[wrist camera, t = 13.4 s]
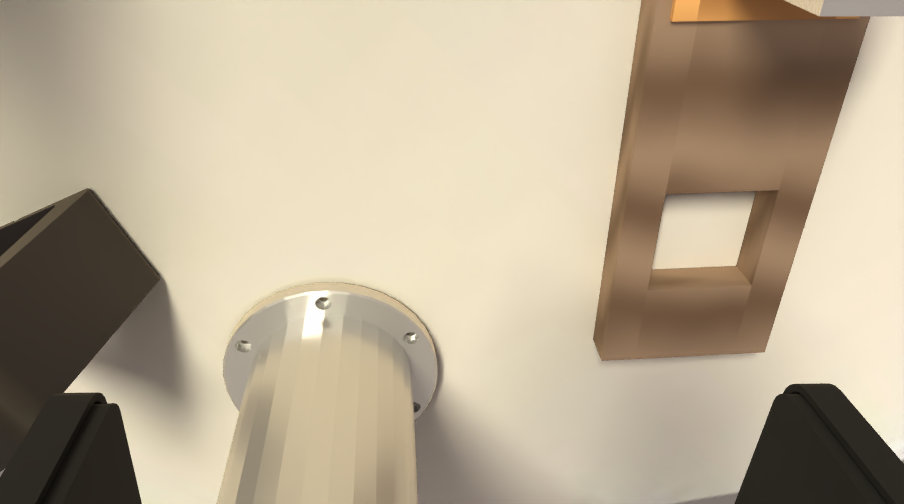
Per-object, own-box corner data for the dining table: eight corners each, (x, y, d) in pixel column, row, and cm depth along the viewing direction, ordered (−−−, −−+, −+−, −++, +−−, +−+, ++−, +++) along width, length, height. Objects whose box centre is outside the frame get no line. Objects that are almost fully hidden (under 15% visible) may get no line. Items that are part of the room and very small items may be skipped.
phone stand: (24, 332, 39) (-102, 511, 29) (-56, 250, 36) (-229, 419, 26) (161, 276, 38) (80, 443, 28) (91, 186, 35) (-30, 337, 25)
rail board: (749, 331, 43) (766, 355, 42) (593, 339, 43) (603, 363, 41) (943, -328, 26) (988, -339, 25) (688, -333, 26) (713, -344, 24)
